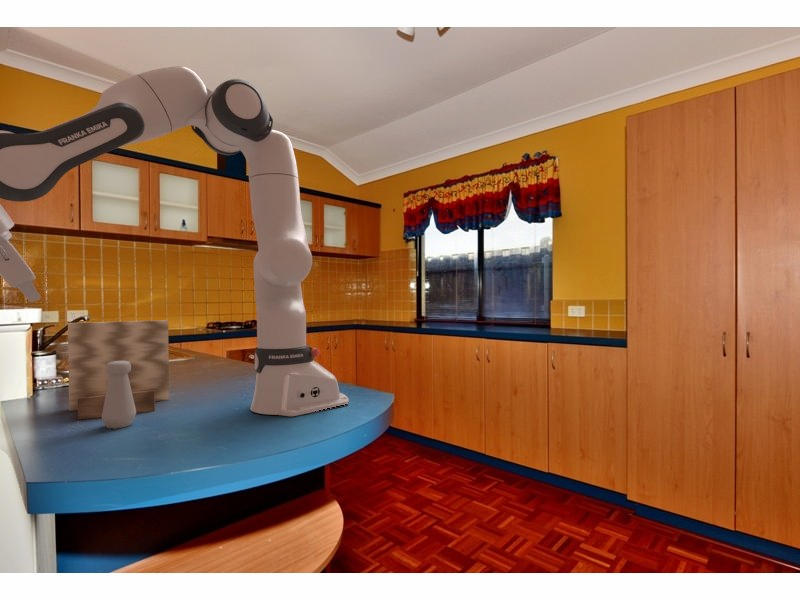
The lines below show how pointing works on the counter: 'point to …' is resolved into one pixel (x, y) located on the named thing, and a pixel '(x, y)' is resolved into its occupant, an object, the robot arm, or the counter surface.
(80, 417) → the cleat ledge
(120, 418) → the salt shaker
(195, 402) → the counter surface
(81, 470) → the counter surface
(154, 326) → the wall board
